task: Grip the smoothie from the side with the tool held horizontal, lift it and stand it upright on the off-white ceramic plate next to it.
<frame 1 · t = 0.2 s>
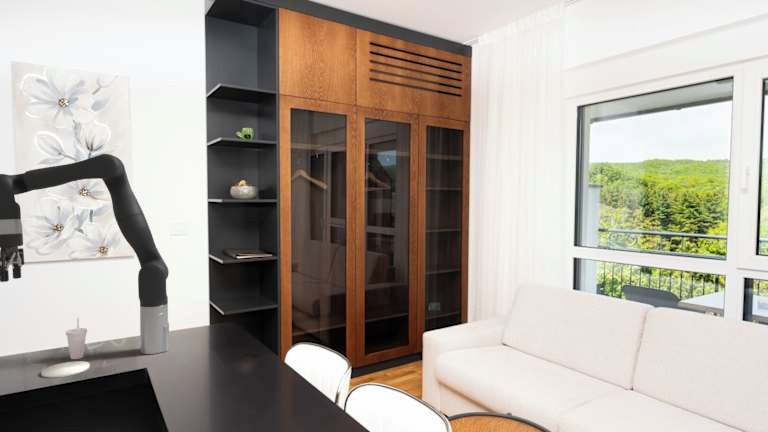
hand: (11, 280, 156), 29 cm above the table, tool pointing down, fingers open, 8 cm apart
smoothie: (76, 358, 162), on the table
plate: (66, 370, 149), on the table
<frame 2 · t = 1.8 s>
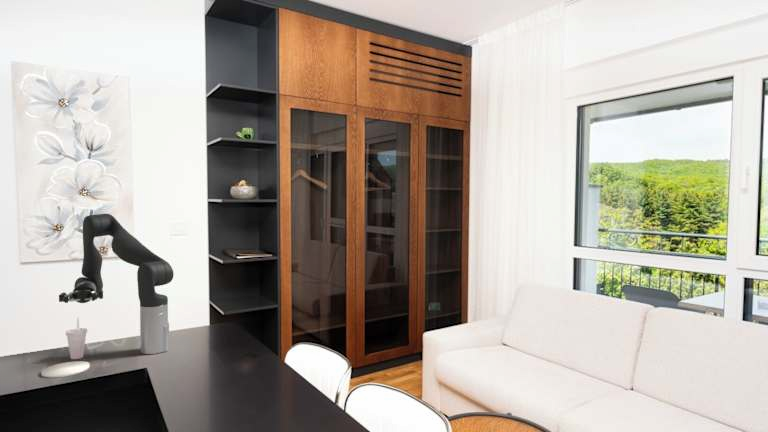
hand: (79, 299, 171), 19 cm above the table, tool horizontal, fingers open, 8 cm apart
nothing on the table moved.
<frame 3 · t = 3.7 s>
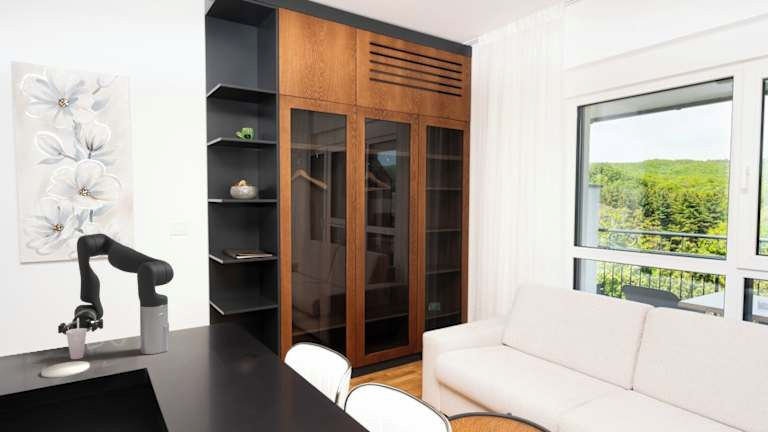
hand: (79, 330, 168), 8 cm above the table, tool horizontal, fingers open, 8 cm apart
nothing on the table moved.
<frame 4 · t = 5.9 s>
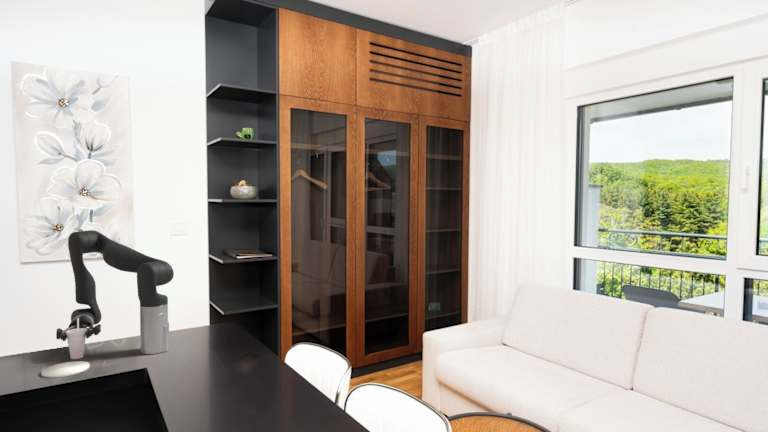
hand: (75, 336, 160), 8 cm above the table, tool horizontal, fingers closed on smoothie, 6 cm apart
smoothie: (76, 357, 162), on the table, touching gripper
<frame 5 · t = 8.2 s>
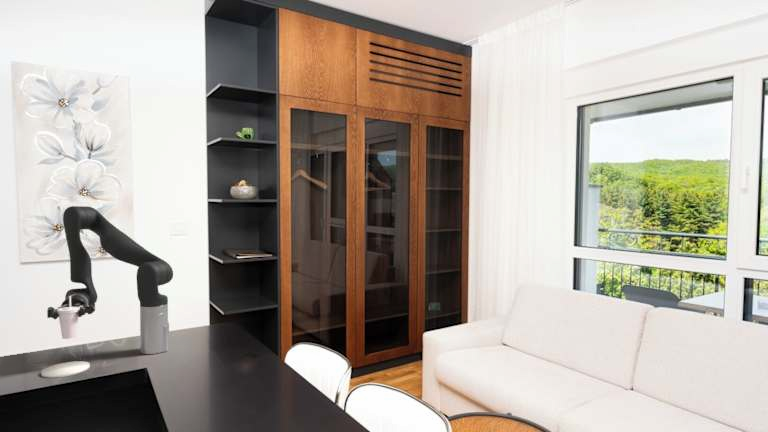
hand: (67, 315, 151), 18 cm above the table, tool horizontal, fingers closed on smoothie, 6 cm apart
smoothie: (69, 337, 153), point 10 cm above the table, touching gripper
when the fingers open (10 cm above the table, at t = 10.5 s): smoothie drops 1 cm, resting on plate.
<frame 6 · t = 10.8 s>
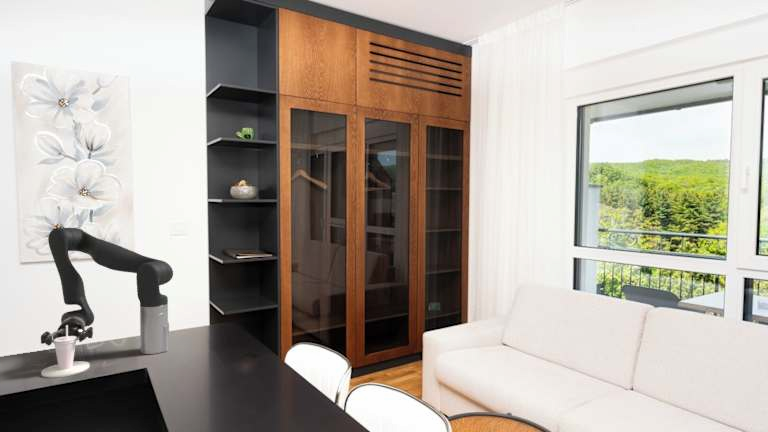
hand: (64, 340, 147), 10 cm above the table, tool horizontal, fingers open, 8 cm apart
smoothie: (65, 368, 149), point 1 cm above the table, touching plate
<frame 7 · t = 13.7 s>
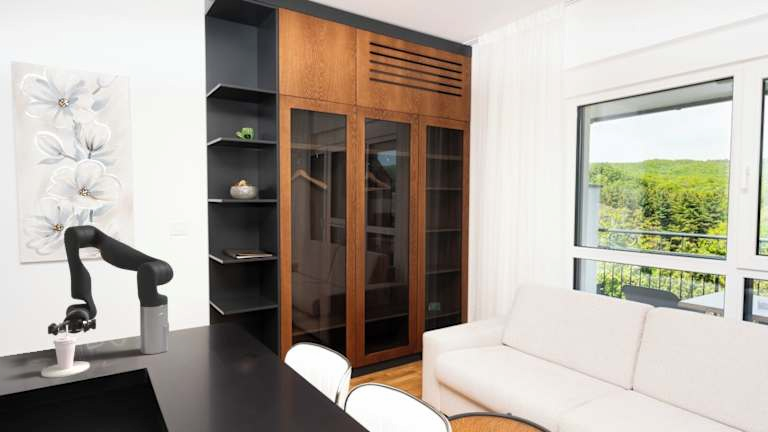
hand: (70, 331, 159), 10 cm above the table, tool horizontal, fingers open, 8 cm apart
nothing on the table moved.
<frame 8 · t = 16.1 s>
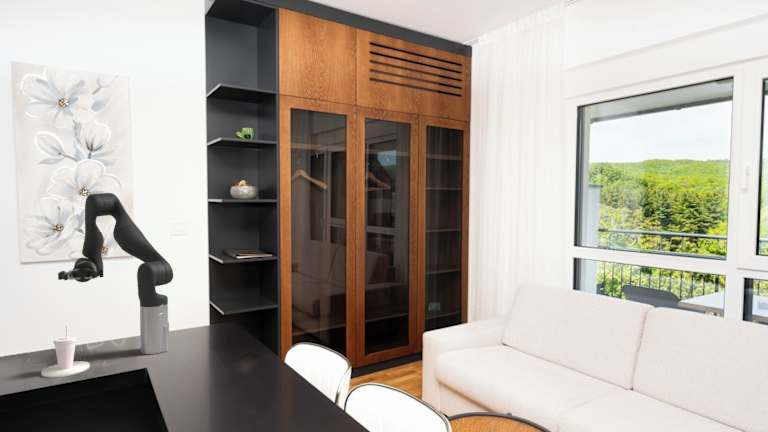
hand: (79, 276, 167), 28 cm above the table, tool horizontal, fingers open, 8 cm apart
nothing on the table moved.
at the end: smoothie 0.2 cm from the plate (horizontally); smoothie tilted 0°; the gripper is holding nothing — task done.
